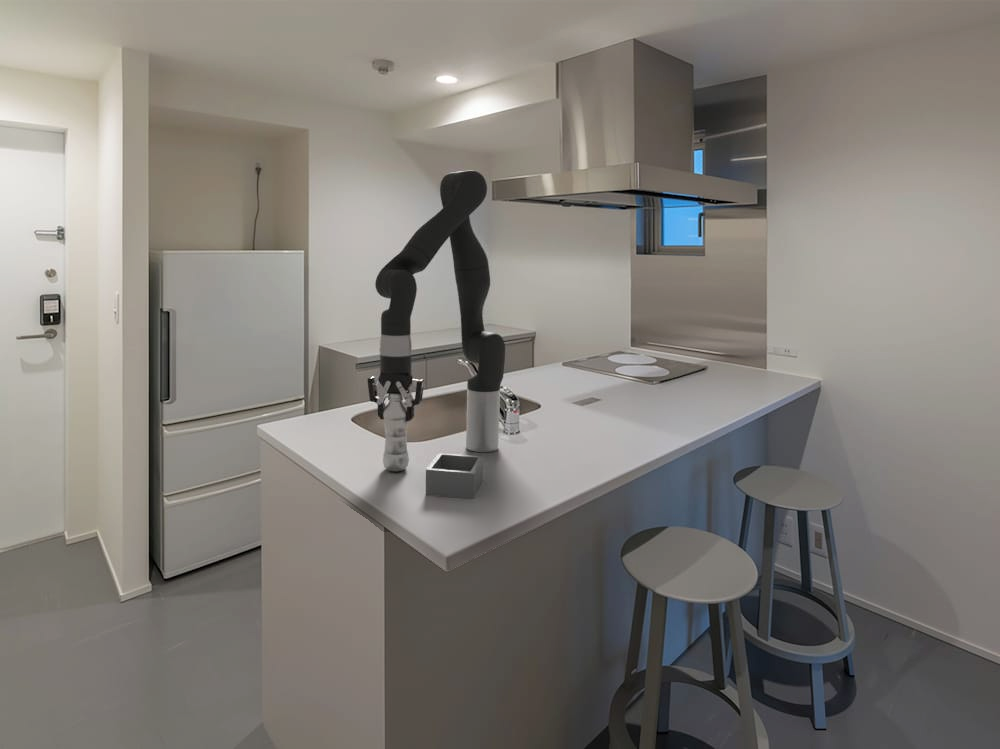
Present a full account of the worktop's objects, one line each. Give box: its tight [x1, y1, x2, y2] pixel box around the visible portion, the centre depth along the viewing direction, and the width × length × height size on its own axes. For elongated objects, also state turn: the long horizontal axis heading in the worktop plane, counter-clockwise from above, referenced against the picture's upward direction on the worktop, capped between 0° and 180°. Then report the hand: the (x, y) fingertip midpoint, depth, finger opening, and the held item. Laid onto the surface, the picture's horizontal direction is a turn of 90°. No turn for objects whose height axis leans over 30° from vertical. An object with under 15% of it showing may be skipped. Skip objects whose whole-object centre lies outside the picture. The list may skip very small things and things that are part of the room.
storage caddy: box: [425, 452, 484, 500], centre depth 138 cm, size 12×11×6 cm
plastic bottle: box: [382, 393, 410, 472], centre depth 147 cm, size 6×7×20 cm
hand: (395, 419), depth 146 cm, fingers closed on plastic bottle, 6 cm apart
